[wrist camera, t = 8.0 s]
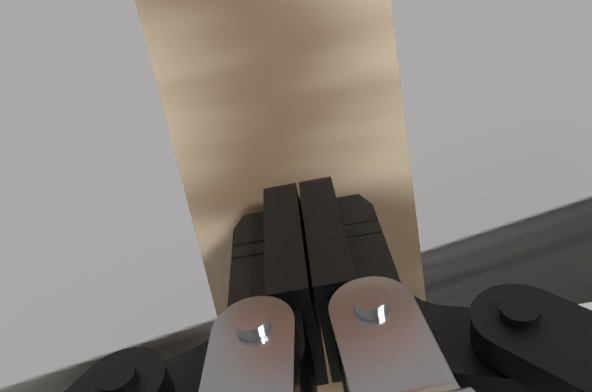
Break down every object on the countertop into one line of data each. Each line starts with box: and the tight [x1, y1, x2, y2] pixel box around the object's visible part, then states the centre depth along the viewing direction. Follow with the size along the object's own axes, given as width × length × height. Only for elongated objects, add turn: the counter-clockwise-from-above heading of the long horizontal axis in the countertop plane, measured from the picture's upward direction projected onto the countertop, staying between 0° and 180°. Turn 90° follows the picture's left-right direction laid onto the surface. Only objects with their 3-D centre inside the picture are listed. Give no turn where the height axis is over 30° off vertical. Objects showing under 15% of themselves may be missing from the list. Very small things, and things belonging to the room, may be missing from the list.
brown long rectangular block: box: [135, 0, 426, 392], centre depth 13 cm, size 6×3×17 cm, turn 93°
